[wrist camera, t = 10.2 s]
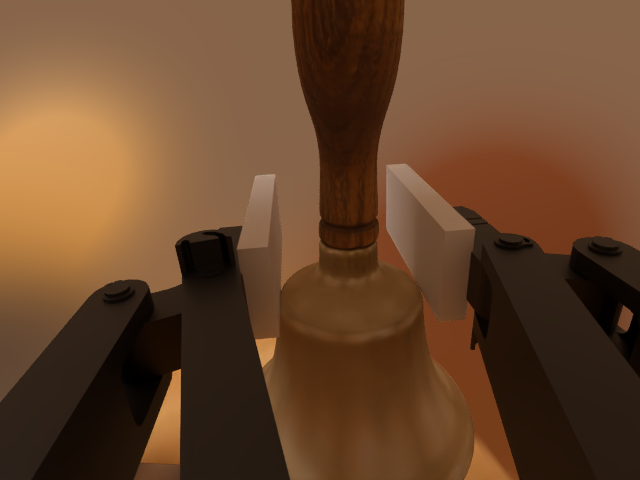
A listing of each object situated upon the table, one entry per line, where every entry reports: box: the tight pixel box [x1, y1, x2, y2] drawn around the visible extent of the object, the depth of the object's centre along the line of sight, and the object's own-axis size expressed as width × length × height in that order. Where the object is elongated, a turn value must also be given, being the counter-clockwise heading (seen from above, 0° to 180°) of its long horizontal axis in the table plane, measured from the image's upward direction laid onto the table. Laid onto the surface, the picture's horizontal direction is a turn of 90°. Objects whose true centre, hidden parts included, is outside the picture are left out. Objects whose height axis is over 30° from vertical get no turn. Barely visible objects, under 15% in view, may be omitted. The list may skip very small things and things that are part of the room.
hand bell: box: [262, 0, 474, 480], centre depth 11 cm, size 8×8×16 cm
